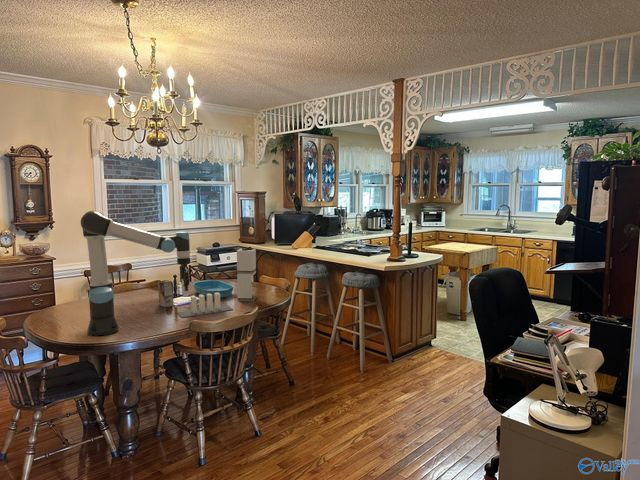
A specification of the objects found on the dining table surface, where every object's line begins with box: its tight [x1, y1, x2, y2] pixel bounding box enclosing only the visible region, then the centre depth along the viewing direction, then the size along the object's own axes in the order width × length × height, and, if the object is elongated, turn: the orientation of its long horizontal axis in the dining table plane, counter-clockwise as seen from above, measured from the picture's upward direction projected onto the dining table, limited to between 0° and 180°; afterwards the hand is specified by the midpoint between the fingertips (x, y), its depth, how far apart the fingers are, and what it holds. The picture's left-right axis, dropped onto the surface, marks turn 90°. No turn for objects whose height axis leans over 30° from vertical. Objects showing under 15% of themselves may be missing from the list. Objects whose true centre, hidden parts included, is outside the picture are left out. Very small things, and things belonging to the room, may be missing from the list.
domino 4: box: [206, 294, 214, 311], centre depth 267 cm, size 2×5×10 cm, turn 31°
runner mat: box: [176, 304, 234, 319], centre depth 267 cm, size 32×12×1 cm, turn 121°
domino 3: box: [198, 294, 206, 312], centre depth 265 cm, size 2×5×10 cm, turn 31°
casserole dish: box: [192, 279, 234, 300], centre depth 311 cm, size 37×22×7 cm, turn 38°
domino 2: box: [190, 295, 198, 314], centre depth 262 cm, size 2×5×10 cm, turn 31°
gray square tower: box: [236, 247, 257, 302], centre depth 295 cm, size 11×11×35 cm
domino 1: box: [181, 279, 186, 298], centre depth 258 cm, size 2×5×10 cm, turn 31°
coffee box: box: [157, 279, 175, 308], centre depth 280 cm, size 9×6×16 cm
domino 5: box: [214, 292, 222, 310], centre depth 270 cm, size 2×5×10 cm, turn 31°
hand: (185, 294), depth 259 cm, fingers closed on domino 1, 5 cm apart
